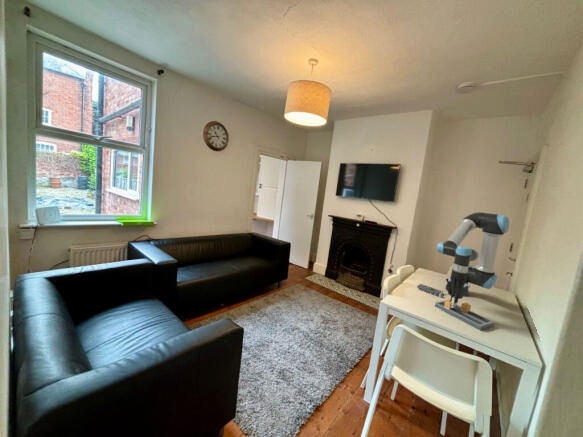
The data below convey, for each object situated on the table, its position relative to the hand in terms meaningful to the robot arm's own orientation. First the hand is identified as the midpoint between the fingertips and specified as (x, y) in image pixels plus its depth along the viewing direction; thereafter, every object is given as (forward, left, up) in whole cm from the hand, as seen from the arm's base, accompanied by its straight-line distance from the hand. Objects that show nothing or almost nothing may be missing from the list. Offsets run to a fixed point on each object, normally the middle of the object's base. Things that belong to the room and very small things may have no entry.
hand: (452, 307), depth 144 cm
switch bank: (-3, +4, -4) cm, 7 cm away
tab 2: (-7, +4, -1) cm, 8 cm away
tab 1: (0, -2, -1) cm, 3 cm away
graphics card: (-19, -26, -5) cm, 33 cm away
